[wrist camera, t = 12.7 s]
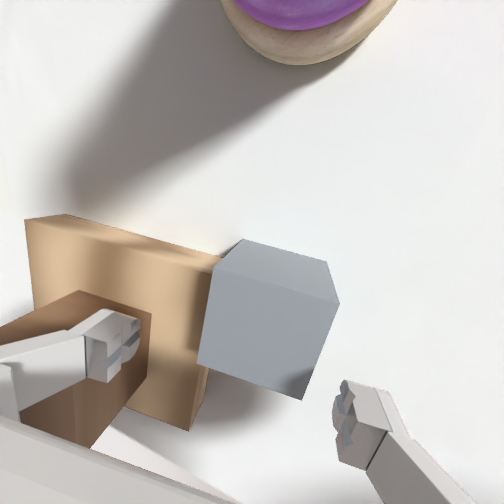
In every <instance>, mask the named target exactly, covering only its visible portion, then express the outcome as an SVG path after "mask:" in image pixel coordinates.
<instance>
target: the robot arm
mask: <svg viewBox="0 0 504 504" xmlns="http://www.w3.org/2000/svg"><path fill="white" fill-rule="evenodd" d="M140 328H141V321H140V320H139V319H138V318H135V317H132V316H129V315H126V314H123V313H120V312H115V311H113V310H109V309H101V310H100V311H98V312H96V313H95V314H93V315H92V316H90V317H89V318H87V319H86V320H84V321H82V322H81V323H79V324H78V325H76V326H75V327H73V328H71V329H70V330H68V331H66V330H61V331H57V332H53V333H49V334H45V335H41V336H37V337H33V338H29V339H25V340H21V341H17V342H13V343H9V344H5V345H1V346H0V504H236V503H233V502H231V501H228V500H225V499H223V498H220V497H217V496H214V495H212V494H209V493H206V492H204V491H201V490H198V489H196V488H193V487H190V486H188V485H185V484H182V483H180V482H177V481H174V480H172V479H169V478H166V477H164V476H161V475H158V474H156V473H153V472H150V471H148V470H145V469H142V468H140V467H137V466H134V465H132V464H129V463H126V462H123V461H121V460H118V459H116V458H113V457H110V456H108V455H105V454H102V453H100V452H97V451H94V450H92V449H89V448H86V447H84V446H81V445H78V444H76V443H73V442H70V441H68V440H65V439H62V438H60V437H57V436H54V435H52V434H49V433H46V432H44V431H41V430H38V429H36V428H33V427H30V426H28V425H25V424H22V423H21V421H20V415H19V411H21V410H23V409H25V408H27V407H29V406H31V405H33V404H35V403H37V402H39V401H41V400H43V399H45V398H47V397H49V396H51V395H53V394H55V393H57V392H59V391H61V390H63V389H65V388H67V387H69V386H71V385H73V384H75V383H77V382H79V381H81V380H83V379H85V378H86V377H88V378H91V379H95V380H98V381H101V382H105V383H108V382H109V381H110V380H111V379H112V378H113V377H114V376H115V375H116V374H117V373H118V372H119V371H120V370H121V364H122V363H124V362H127V361H129V360H130V359H131V358H132V357H133V356H134V354H135V352H136V351H137V349H138V346H139V343H140V336H139V334H138V332H137V331H138V330H139V329H140ZM340 391H341V394H340V395H338V396H336V398H335V401H334V403H333V410H332V420H333V426H334V428H335V429H336V430H337V432H338V434H337V437H336V439H335V440H336V446H337V452H338V458H339V461H340V462H343V463H345V464H348V465H351V466H354V467H356V468H359V469H362V470H364V471H366V474H367V476H368V477H369V479H370V481H371V482H372V484H373V486H374V488H375V489H376V491H377V493H378V494H379V496H380V498H381V499H382V501H383V503H384V504H476V503H475V502H474V501H473V500H472V498H471V497H470V496H469V495H468V494H467V493H466V492H465V491H464V490H463V489H462V488H461V487H460V486H459V485H458V484H457V483H456V482H455V481H454V480H453V479H452V478H451V477H450V476H449V474H448V473H447V472H446V471H445V470H444V469H443V468H442V467H441V466H440V465H439V464H438V463H437V462H436V461H435V460H434V459H433V458H432V457H431V456H430V455H429V454H428V453H427V452H426V450H425V449H424V448H423V447H422V446H421V445H420V444H419V443H418V442H417V441H416V440H413V439H411V438H410V436H409V434H408V432H407V429H406V427H405V425H404V423H403V421H402V418H401V416H400V414H399V412H398V410H397V407H396V405H395V403H394V401H393V399H392V397H391V395H390V393H389V392H388V391H384V390H380V389H377V388H372V387H369V386H365V385H362V384H358V383H355V382H351V381H348V380H344V381H343V382H342V383H341V386H340Z"/></svg>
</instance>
